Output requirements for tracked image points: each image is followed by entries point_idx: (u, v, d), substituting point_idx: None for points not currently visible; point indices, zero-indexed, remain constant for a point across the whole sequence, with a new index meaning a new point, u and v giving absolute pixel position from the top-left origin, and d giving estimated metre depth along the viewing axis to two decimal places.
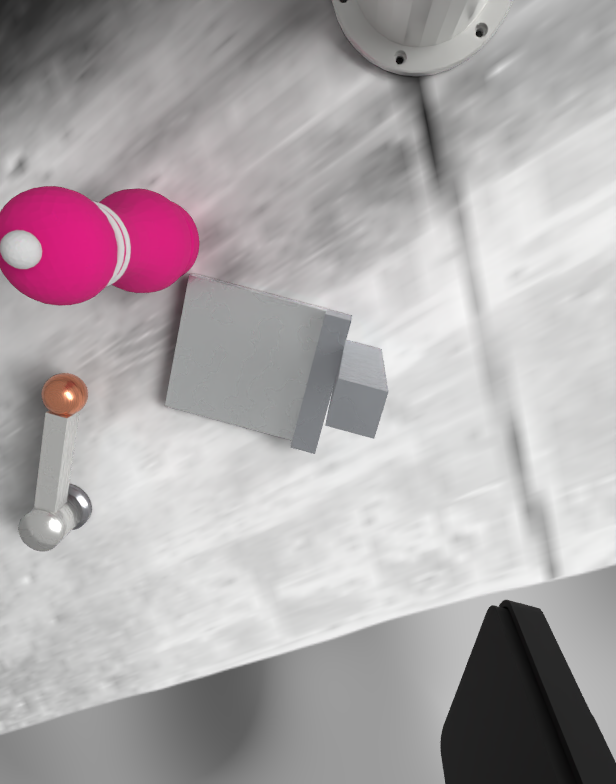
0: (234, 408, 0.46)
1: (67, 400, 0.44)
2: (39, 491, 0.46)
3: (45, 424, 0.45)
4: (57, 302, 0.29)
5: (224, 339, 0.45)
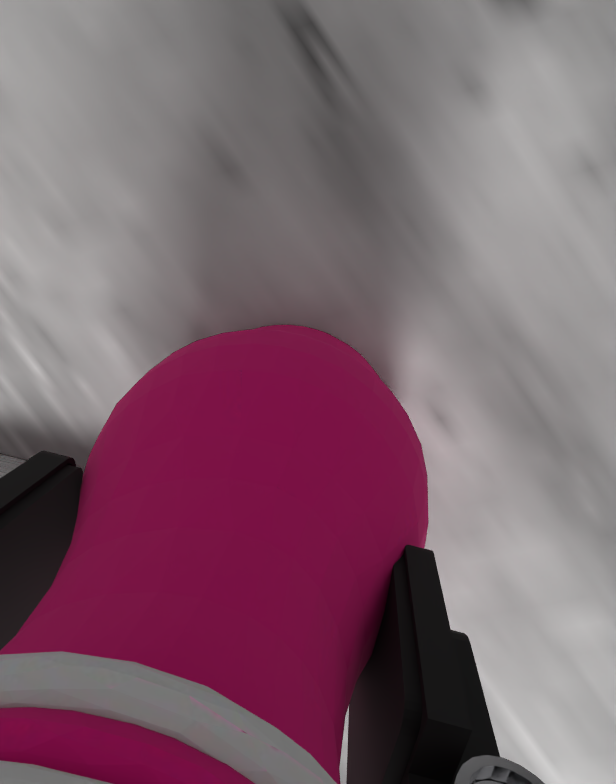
0: None
1: None
2: None
3: None
4: None
5: None
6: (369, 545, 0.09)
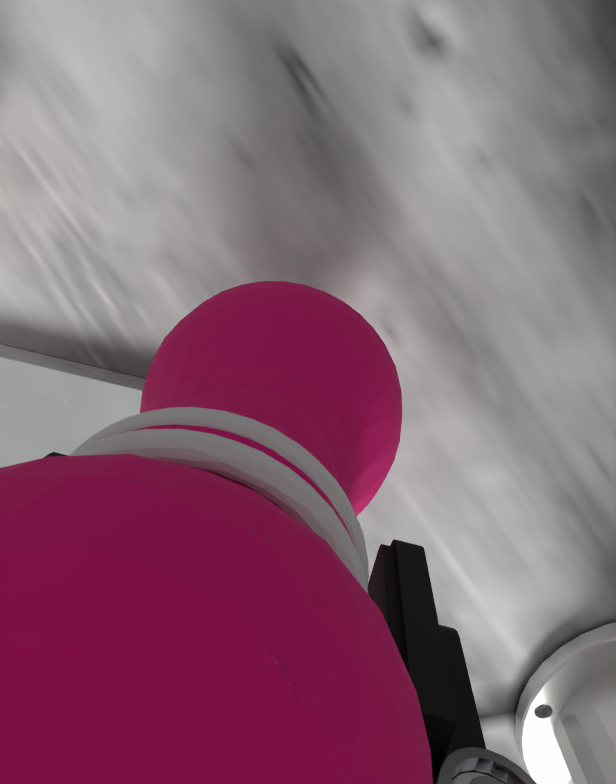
0: None
1: None
2: None
3: None
4: None
5: None
6: (354, 416, 0.12)
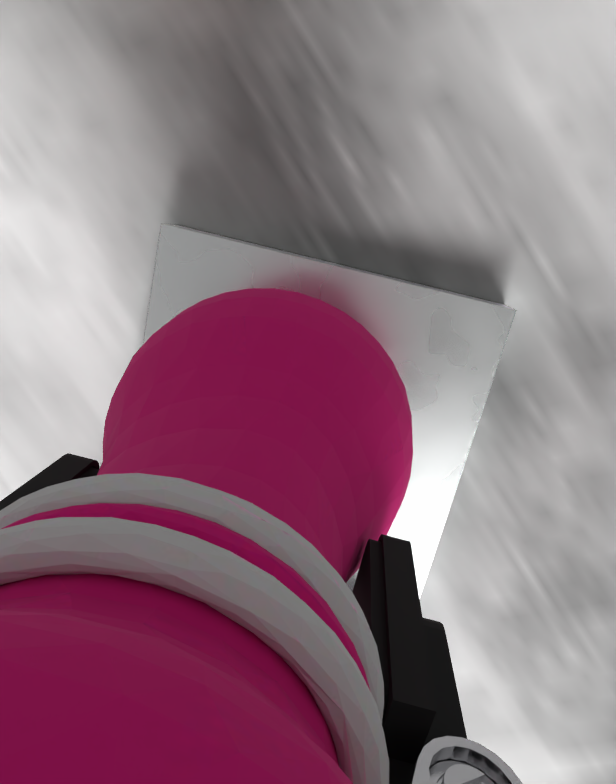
0: None
1: None
2: None
3: None
4: None
5: None
6: (359, 456, 0.10)
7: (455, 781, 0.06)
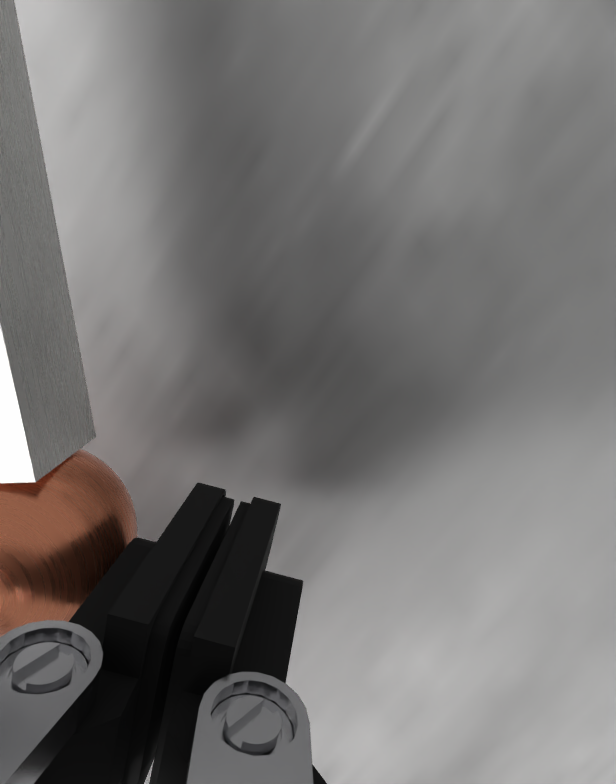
0: None
1: None
2: None
3: (14, 419, 0.08)
4: None
5: None
6: None
7: (237, 715, 0.06)
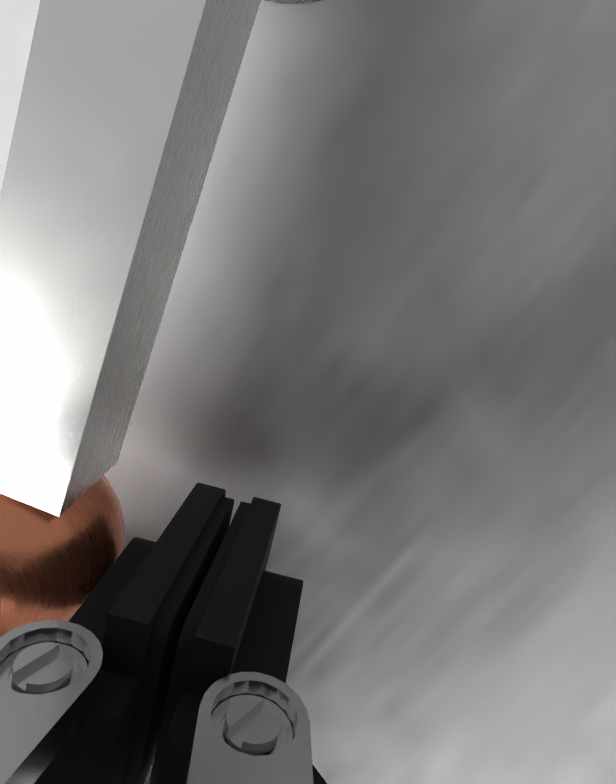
0: None
1: None
2: None
3: (68, 455, 0.08)
4: None
5: None
6: None
7: (237, 715, 0.06)
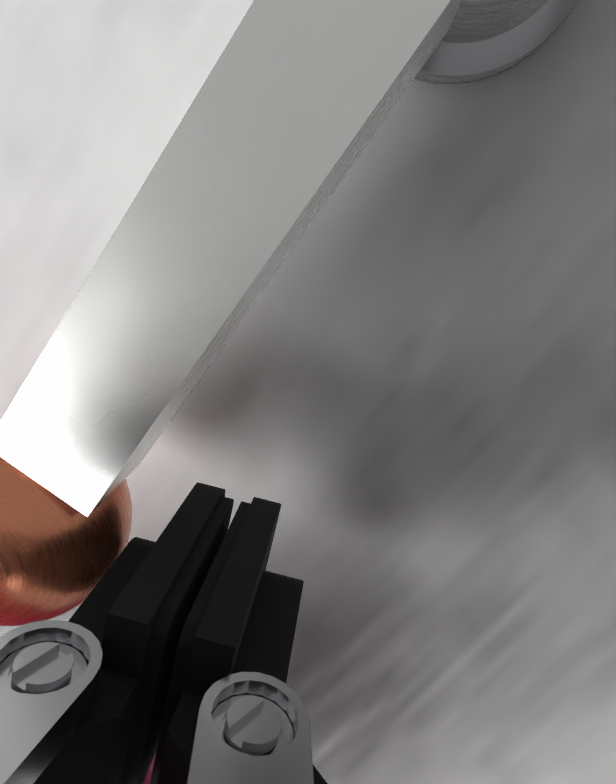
0: None
1: None
2: (362, 78, 0.06)
3: (115, 463, 0.08)
4: None
5: None
6: None
7: (237, 715, 0.06)
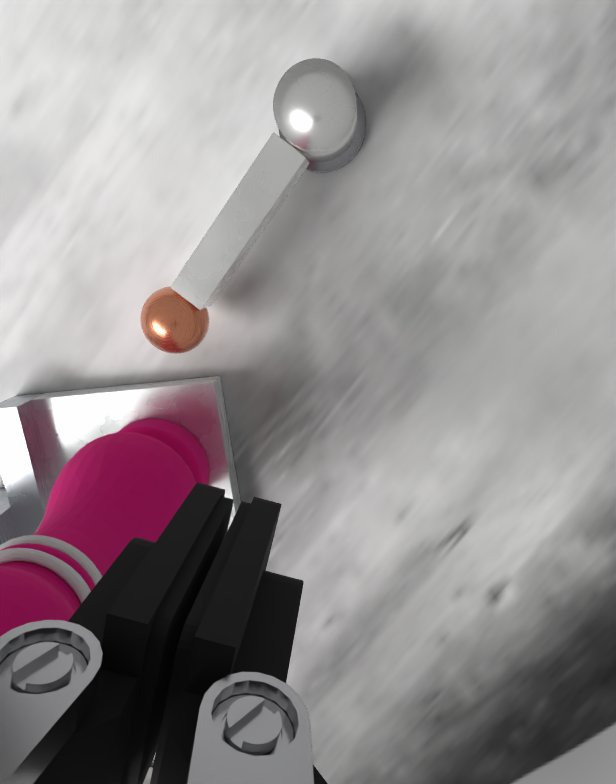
0: (122, 413, 0.33)
1: (148, 314, 0.27)
2: (279, 183, 0.26)
3: (209, 292, 0.27)
4: None
5: None
6: None
7: (238, 715, 0.06)
